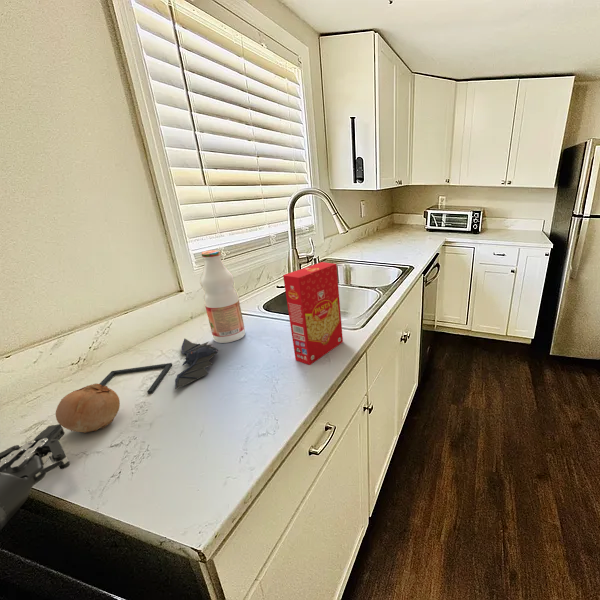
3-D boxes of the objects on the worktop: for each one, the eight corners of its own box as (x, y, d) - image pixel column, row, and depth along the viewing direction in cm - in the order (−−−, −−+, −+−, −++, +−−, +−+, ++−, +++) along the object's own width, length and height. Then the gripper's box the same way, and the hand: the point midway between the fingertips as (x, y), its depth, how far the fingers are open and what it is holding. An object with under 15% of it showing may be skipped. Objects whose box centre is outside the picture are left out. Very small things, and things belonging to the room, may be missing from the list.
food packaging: (309, 365, 89) (298, 277, 80) (295, 360, 91) (283, 275, 82) (342, 342, 101) (336, 263, 92) (329, 338, 103) (322, 261, 94)
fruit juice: (232, 345, 100) (212, 256, 90) (206, 342, 102) (184, 254, 92) (252, 331, 108) (235, 248, 98) (228, 329, 111) (209, 247, 101)
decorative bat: (216, 368, 80) (169, 383, 76) (221, 382, 81) (175, 397, 77) (216, 323, 104) (180, 333, 100) (220, 335, 106) (184, 344, 102)
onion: (120, 424, 73) (131, 380, 73) (102, 443, 64) (115, 393, 65) (64, 421, 69) (77, 375, 69) (38, 441, 60) (52, 388, 61)
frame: (82, 404, 75) (81, 401, 74) (112, 373, 86) (111, 370, 86) (152, 393, 78) (151, 390, 78) (172, 365, 90) (171, 362, 89)
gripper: (17, 488, 43) (93, 405, 59) (-118, 514, 40) (1, 419, 55) (40, 526, 46) (107, 437, 61) (-84, 554, 43) (20, 452, 58)
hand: (57, 428), depth 58 cm, fingers closed
